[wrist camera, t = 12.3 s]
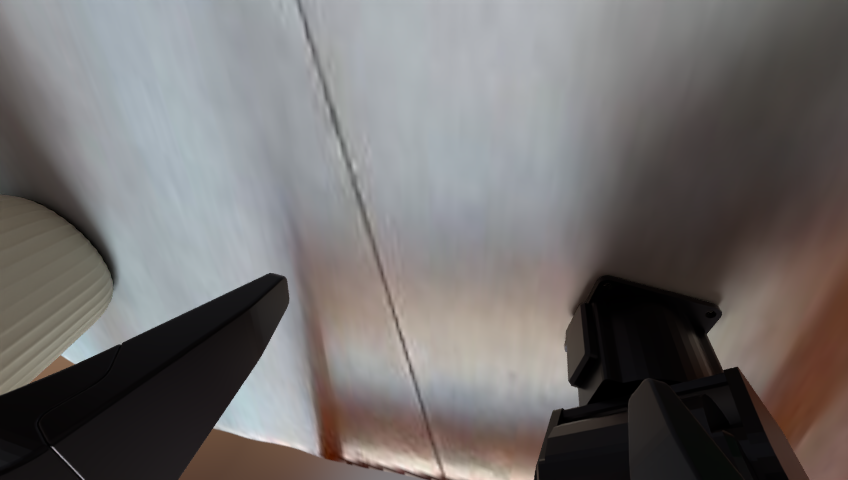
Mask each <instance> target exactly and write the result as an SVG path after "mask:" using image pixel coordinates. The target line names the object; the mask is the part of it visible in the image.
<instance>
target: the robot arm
mask: <svg viewBox="0 0 848 480" xmlns="http://www.w3.org/2000/svg"><path fill="white" fill-rule="evenodd" d="M606 283H609V284H610V285H609V286H604V284H606ZM288 304H289V292H288V284H287V279H286V277H284V276H282V275H278V274H274V273H269V274H266V275H264V276H262V277H260V278H258V279H256V280H254V281H252V282H250V283H247V284H245V285H243V286H241V287H239V288H237V289H235V290H233V291H231V292H228V293H226V294H224V295H222V296H220V297H218V298H216V299H214V300H212V301H209V302H207V303H205V304H203V305H201V306H199V307H197V308H195V309H193V310H190V311H188V312H186V313H184V314H182V315H180V316H178V317H176V318H174V319H171V320H169V321H167V322H165V323H163V324H161V325H159V326H157V327H155V328H152V329H150V330H148V331H146V332H144V333H142V334H140V335H138V336H136V337H133V338H131V339H129V340H127V341H125V342H123V343H122V345H120V344H119V345H116V346H114V347H112V348H110V349H108V350H106V351H104V352H101V353H99V354H97V355H95V356H93V357H91V358H88V359H86V360H84V361H82V362H80V363H77V364H75V365H73V366H71V367H68V368H66V369H64V370H61V371H59V372H57V373H54V374H52V375H49V376H47V377H45V378H42V379H40V380H38V381H35V382H32V383H30V384H27V385H25V386H22V387H20V388H17V389H15V390H12V391H10V392H7V393H5V394H2V395H0V480H178V479H179V478H180V476H181V475H182V473H183V472H184V470H185V469H186V467H187V466H188V464H189V463H190V461H191V460H192V458H193V457H194V455H195V454H196V452H197V451H198V450H199V448H200V447H201V445H202V443H203V442H204V440H205V439H206V438H207V436H208V435H209V433H210V432H211V430H212V429H213V427H214V426H215V424H216V423H217V421H218V420H219V418H220V417H221V415H222V414H223V413H224V411H225V410H226V408H227V407H228V405H229V404H230V402H231V401H232V399H233V398H234V396H235V395H236V393H237V392H238V390H239V389H240V387H241V386H242V384H243V383H244V381H245V380H246V379H247V377H248V376H249V374H250V373H251V371H252V370H253V368H254V367H255V365H256V364H257V362H258V361H259V359H260V357H261V356H262V354H263V352H264V350H265V349H266V347H267V345H268V343H269V341H270V339H271V337H272V335H273V333H274V332H275V330H276V328H277V326H278V324H279V322H280V320H281V318H282V316H283V315H284V313H285V311H286V309H287V307H288ZM709 311H713V312H711V313H707V312H709ZM721 316H722V312H721V310H720V308H719V307H718V305H716V304H714V303H711V302H707V301H703V300H699V299H696V298H692V297H688V296H684V295H680V294H677V293H673V292H669V291H665V290H661V289H658V288H654V287H650V286H646V285H643V284H639V283H635V282H631V281H627V280H624V279H620V278H616V277H612V276H602V277H600V278H599V279H598V280H597V282H596V284H595V286H594V288H593V290H592V291H591V293H590V295H589V297H588V299H587V301H586V303H585V302H583V303H582V304H580V305H579V307H578V309H577V311H576V313H575V315H574V317H573V318H572V320H571V322H570V324H569V326H568V328H567V330H566V341H565V344H564V347H565V351H566V352H567V362H568V381H569V383H570V384H571V386H574V387H577V388H578V395H579V407H575V408H570V409H566V410H564V409H563V408H562V409H558V410H553V412H552V415H551V418H550V422H549V425H548V428H547V432H546V435H545V438H544V442H543V445H542V448H541V452H540V455H539V459H538V462H537V465H536V470H535V476H534V480H809V478H808V476H807V475H806V473H805V471H804V469H803V467H802V466H801V464H800V462H799V460H798V458H797V457H796V455H795V453H794V451H793V450H792V448H791V446H790V444H789V442H788V441H787V439H786V437H785V435H784V434H783V432H782V430H781V429H780V427H779V426H778V424H777V423H776V421H775V420H774V419H773V417H772V416H771V414H770V413H769V411H768V410H767V408H766V407H765V405H764V404H763V403H762V401H761V400H760V398H759V397H758V395H757V394H756V392H755V391H754V390H753V388H752V387H751V385H750V384H749V382H748V381H747V379H746V378H745V376H744V375H743V374H742V372H741V371H740V369H739V368H738V367H734V368H730V369H726V370H723V369H722V367H721V365H720V362H719V360H718V358H717V356H716V354H715V352H714V349H713V347H712V345H711V343H710V341H709V339H708V336H707V333H708V332H709V331H710V330H711V328H712V327H713V326H714V325H715V324H716V322H717V321H718V320H719V319H720V318H721Z"/></svg>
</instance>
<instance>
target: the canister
mask: <svg viewBox="0 0 848 480" xmlns="http://www.w3.org/2000/svg"><path fill="white" fill-rule="evenodd" d="M112 284H113V280H112V278H111V273H110V272H109V270H108V269H107V265H106V264H105V263H104V261H103V258H102V257H101V256H100V255H99V253H98V252H97V250H96V249H95V248H94V247H93V246H92V245H91V243H90V241H89V240H87V239H86V238H85V237H84V236H83V234H82V233H81V232H79V231H78V230H77V229H76V228H75V227H74V226H73V225H72V224H70V223H68V222H67V221H66V220H65V219H64V218H63V217H60V216H59V215H57V214H56V213H55V212H54V211H52V210H49V209H48V208H46V207H45V206H43V205H40V204H37V203H36V202H34V201H31V200H27V199H25V198H22V197H16V196H10V195H0V395H2V394H5V393H7V392H10V391H12V390H15V389H17V388H20V387H22V386H25V385H27V384H29V383H30V382H31V381H32V380H33V379H34V378H35V377H36V376H37V375H39V374H40V373H41V372H42V371H43V370H44V369H45V368H46V367H47V366H49V365H50V364H51V363H52V362H53V361H54V360H55V359H56V358H58V357H59V356H60V355H61V354H62V353H63V352H64V351H65V350H66V349H67V348H68V347H70V346H71V345H72V344H73V343H74V342H75V341H76V340H77V339H78V338H79V337H80V336H81V335H82V334H83V333H85V332H86V331H87V330H88V329H89V328H90V327H91V326H92V325H93V324H94V323H95V322H96V321H97V320H98V319H99V318H100V317H101V316H102V315H103V313H104V312H105V310H106V309H107V307H108V305H109V303H110V301H111V299H112V295H113V285H112Z"/></svg>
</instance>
